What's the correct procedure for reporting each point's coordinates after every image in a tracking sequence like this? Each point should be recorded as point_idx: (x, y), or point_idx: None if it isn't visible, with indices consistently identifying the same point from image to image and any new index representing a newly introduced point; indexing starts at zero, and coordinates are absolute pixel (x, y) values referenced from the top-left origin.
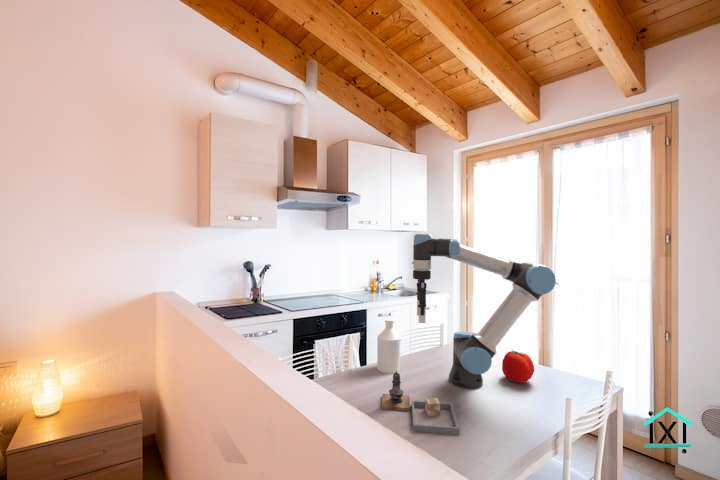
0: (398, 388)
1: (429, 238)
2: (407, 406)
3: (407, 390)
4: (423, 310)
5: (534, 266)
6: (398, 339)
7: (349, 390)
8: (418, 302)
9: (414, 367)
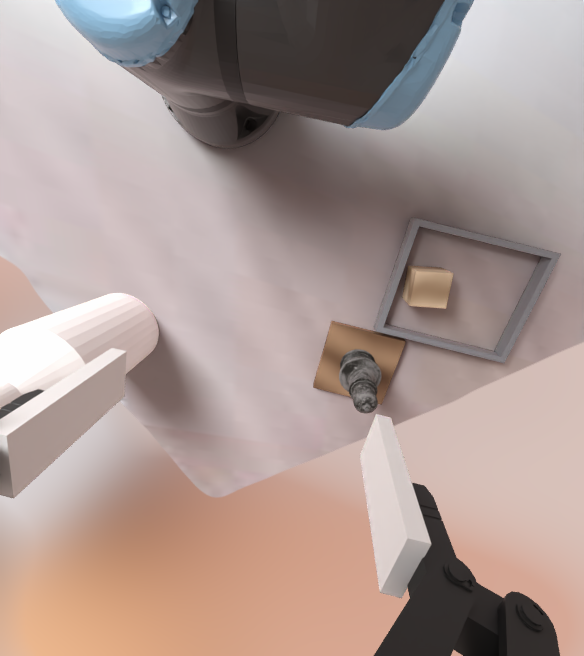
0: (372, 379)
1: None
2: (396, 346)
3: (282, 311)
4: (444, 540)
5: None
6: (71, 346)
7: (273, 448)
8: (27, 472)
9: (102, 238)
